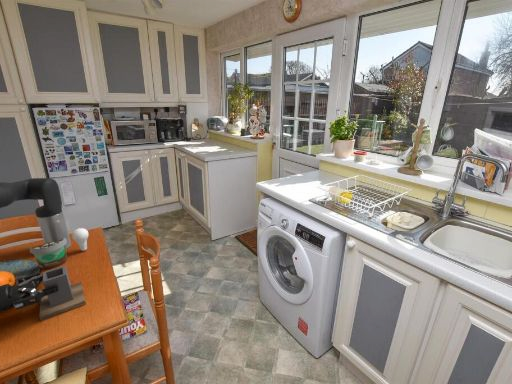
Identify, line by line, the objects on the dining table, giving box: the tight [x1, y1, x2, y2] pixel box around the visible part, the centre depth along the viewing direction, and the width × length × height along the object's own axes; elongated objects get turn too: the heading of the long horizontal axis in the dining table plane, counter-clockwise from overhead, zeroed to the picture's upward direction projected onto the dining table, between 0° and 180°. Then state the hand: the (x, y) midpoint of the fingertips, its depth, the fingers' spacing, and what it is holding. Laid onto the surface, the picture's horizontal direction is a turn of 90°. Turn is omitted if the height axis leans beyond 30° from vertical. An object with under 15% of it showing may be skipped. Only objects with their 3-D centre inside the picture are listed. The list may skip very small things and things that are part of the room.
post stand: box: [39, 281, 87, 322], centre depth 89 cm, size 12×12×8 cm
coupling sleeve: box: [42, 265, 73, 307], centre depth 88 cm, size 6×6×10 cm
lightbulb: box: [71, 227, 89, 252], centre depth 118 cm, size 6×6×11 cm
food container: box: [29, 238, 68, 270], centre depth 108 cm, size 12×6×10 cm, turn 131°
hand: (57, 280), depth 87 cm, fingers open, 8 cm apart
